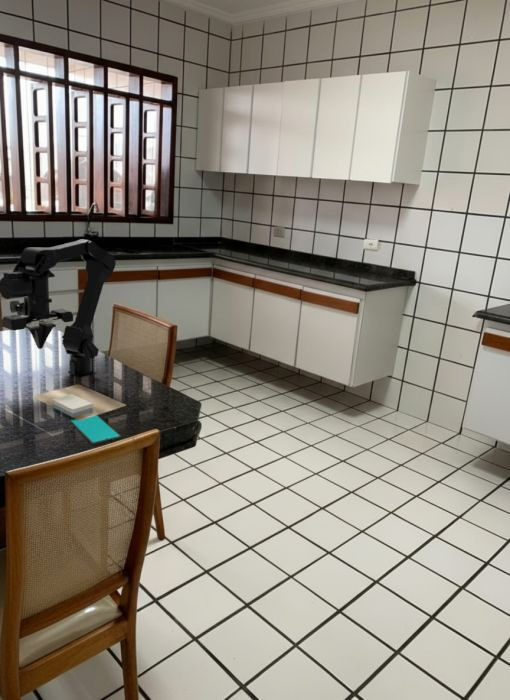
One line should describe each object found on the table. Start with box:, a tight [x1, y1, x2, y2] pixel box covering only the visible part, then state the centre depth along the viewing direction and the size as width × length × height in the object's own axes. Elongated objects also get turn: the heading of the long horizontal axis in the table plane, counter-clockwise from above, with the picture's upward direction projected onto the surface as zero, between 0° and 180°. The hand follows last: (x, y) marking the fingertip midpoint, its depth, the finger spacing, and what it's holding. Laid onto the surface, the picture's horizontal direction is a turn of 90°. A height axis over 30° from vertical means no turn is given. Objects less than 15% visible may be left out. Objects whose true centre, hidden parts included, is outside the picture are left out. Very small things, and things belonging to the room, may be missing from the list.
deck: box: [52, 394, 93, 418], centre depth 142 cm, size 2×9×6 cm
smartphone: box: [70, 415, 122, 446], centre depth 132 cm, size 7×1×15 cm
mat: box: [31, 383, 127, 421], centre depth 148 cm, size 15×22×1 cm
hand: (39, 348), depth 152 cm, fingers closed
